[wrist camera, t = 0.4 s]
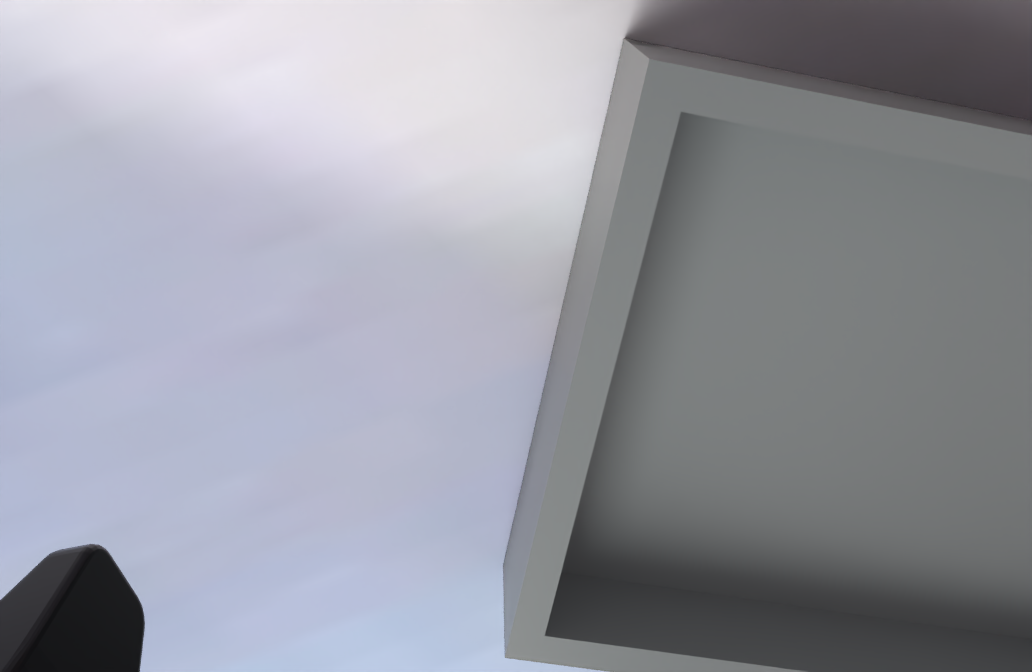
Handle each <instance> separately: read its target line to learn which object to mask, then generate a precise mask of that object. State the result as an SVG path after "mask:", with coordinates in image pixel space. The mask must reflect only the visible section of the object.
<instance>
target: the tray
mask: <svg viewBox="0 0 1032 672" xmlns="http://www.w3.org/2000/svg"><path fill="white" fill-rule="evenodd" d="M503 588H504V638H505V658H511V659H518V660H526V661H533V662H541V663H548V664H556V665H564V666H571V667H579V668H586V669H594V670H601V671H609V672H1032V120H1027V119H1022V118H1017V117H1012V116H1007V115H1002V114H997V113H992V112H987V111H982V110H977V109H972V108H968V107H963V106H958V105H953V104H948V103H943V102H938V101H933V100H928V99H923V98H918V97H913V96H908V95H903V94H898V93H893V92H888V91H883V90H878V89H873V88H868V87H864V86H859V85H854V84H849V83H844V82H839V81H834V80H829V79H824V78H819V77H814V76H809V75H804V74H799V73H794V72H789V71H784V70H779V69H774V68H769V67H764V66H759V65H755V64H750V63H745V62H740V61H735V60H730V59H725V58H720V57H715V56H710V55H705V54H700V53H695V52H690V51H685V50H680V49H675V48H670V47H665V46H660V45H655V44H651V43H646V42H641V41H636V40H631V39H626V38H624V40H623V44H622V49H621V53H620V57H619V62H618V66H617V70H616V75H615V79H614V84H613V88H612V92H611V97H610V101H609V105H608V110H607V114H606V118H605V123H604V127H603V132H602V136H601V140H600V145H599V149H598V153H597V158H596V162H595V166H594V171H593V175H592V180H591V184H590V188H589V193H588V197H587V201H586V206H585V210H584V214H583V219H582V223H581V228H580V232H579V236H578V241H577V245H576V249H575V254H574V258H573V262H572V267H571V271H570V276H569V280H568V284H567V289H566V293H565V297H564V302H563V306H562V311H561V315H560V319H559V324H558V328H557V332H556V337H555V341H554V345H553V350H552V354H551V359H550V363H549V367H548V372H547V376H546V380H545V385H544V389H543V393H542V398H541V402H540V407H539V411H538V415H537V420H536V424H535V428H534V433H533V437H532V441H531V446H530V450H529V455H528V459H527V463H526V468H525V472H524V476H523V481H522V485H521V489H520V494H519V498H518V503H517V507H516V511H515V516H514V520H513V524H512V529H511V533H510V537H509V542H508V546H507V551H506V555H505V559H504V564H503Z"/></svg>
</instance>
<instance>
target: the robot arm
mask: <svg viewBox="0 0 1032 672" xmlns="http://www.w3.org/2000/svg"><path fill="white" fill-rule="evenodd" d="M144 626H145V622H144V613H143V608H142V605H141V603H140V601H139V599H138V597H137V595H136V594H135V592H134V591H133V589H132V588H131V586H130V584H129V583H128V581H127V580H126V578H125V577H124V575H123V574H122V572H121V570H120V569H119V567H118V566H117V564H116V563H115V561H114V560H113V558H112V557H111V555H110V554H109V552H108V551H107V550H106V549H105V548H103V547H102V546H100V545H95V544H89V545H83V546H78V547H72V548H67V549H62V550H58V551H55V552H53V553H51V554H49V555H48V556H47V557H46V558H44V559H43V560H42V561H41V562H40V563H39V564H38V565H37V566H36V567H35V568H34V569H33V570H32V571H31V572H30V573H29V574H28V575H26V576H25V577H24V578H23V579H22V580H21V581H20V582H19V583H18V584H17V585H16V586H15V587H14V588H13V589H12V590H11V591H10V592H9V593H8V594H6V595H5V596H4V597H3V598H2V599H1V600H0V672H140V664H141V655H142V646H143V637H144Z"/></svg>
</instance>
